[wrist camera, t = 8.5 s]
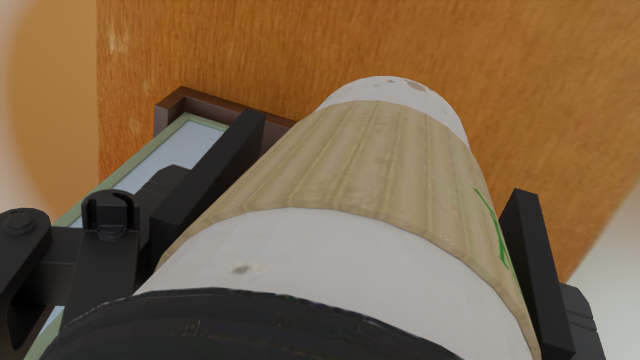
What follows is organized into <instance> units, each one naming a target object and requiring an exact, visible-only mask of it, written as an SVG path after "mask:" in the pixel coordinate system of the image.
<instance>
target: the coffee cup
mask: <svg viewBox="0 0 640 360" xmlns="http://www.w3.org/2000/svg"><path fill="white" fill-rule="evenodd" d="M39 360H541V351H540V347H539V344H538V341H537V338H536V335H535V332H534V329H533V326H532V323H531V320H530V317H529V314H528V310H527V307H526V304H525V301H524V298H523V295H522V292H521V289H520V286H519V283H518V280H517V277H516V274H515V271H514V268H513V265H512V261H511V258H510V255H509V252H508V249H507V246H506V243H505V240H504V237H503V234H502V231H501V228H500V225H499V222H498V219H497V216H496V212H495V209H494V206H493V203H492V200H491V197H490V194H489V191H488V188H487V185H486V182H485V179H484V177H483V174H482V172H481V169H480V167H479V164H478V162H477V160H476V159H475V157H474V156H473V154H472V153H471V150H470V147H469V144H468V140H467V137H466V133H465V131H464V128H463V126H462V123H461V121H460V119H459V117H458V116H457V114H456V113H455V111H454V110H453V108H452V107H451V106H450V105H449V104H448V103H447V102H446V101H445V100H444V99H443V98H442V97H441V96H440V95H439V94H437V93H436V92H434V91H433V90H431V89H429V88H428V87H426V86H425V85H422V84H419V83H417V82H414V81H412V80H409V79H405V78H399V77H394V76H373V77H368V78H363V79H359V80H356V81H354V82H351V83H349V84H346V85H344V86H343V87H341V88H340V89H338V90H337V91H335V92H334V93H332V94H331V95H330V96H329V97H328V98H327V99H326V100H325V101H324V102H323V103H322V104H321V105H320V106H319V107H318V108H317V109H316V110H315V111H314V112H313V113H311V114H310V115H308V116H307V117H305V118H304V119H302V120H301V121H299V122H298V123H296V124H295V125H294V126H293V127H292V128H291V129H290V130H289V131H288V132H287V133H286V134H285V135H284V136H283V137H282V138H281V139H279V140H278V141H277V142H276V143H275V144H274V145H273V146H272V147H271V148H270V149H269V150H268V151H267V152H266V153H265V154H264V155H263V156H262V157H261V158H260V159H259V160H258V161H257V162H256V163H255V164H254V165H253V166H252V167H250V168H249V169H248V170H247V171H246V172H245V173H244V174H243V175H242V176H241V177H240V178H239V179H238V180H237V181H236V182H235V183H234V184H233V185H232V186H231V187H230V188H229V189H228V190H227V191H226V192H225V193H224V194H222V195H221V196H220V197H219V198H218V199H217V200H216V201H215V202H214V203H213V204H212V205H211V206H210V207H209V208H208V209H207V210H206V211H205V212H204V213H203V214H202V215H201V216H200V217H199V218H198V219H197V220H196V221H195V222H193V223H192V224H191V225H190V226H189V227H188V228H187V229H186V230H185V231H184V232H183V233H182V234H181V235H180V236H179V237H178V238H177V240H176V241H175V242H174V243H173V244H172V245H171V246H170V247H169V248H168V249H167V250H166V251H165V252H164V253H163V255H162V257H161V259H160V261H159V263H158V265H157V267H156V269H155V271H154V273H153V275H152V276H151V277H150V278H149V279H148V280H147V281H146V282H145V283H144V284H143V285H142V286H141V287H140V288H139V289H138V290H137V291H136V292H135V293H134V294H133V295H132V296H129V297H125V298H122V299H118V300H114V301H110V302H107V303H103V304H101V305H99V306H97V307H96V308H94V309H92V310H90V311H89V312H87V313H85V314H84V315H82V316H80V317H78V318H77V319H75V320H73V321H71V322H70V323H68V324H66V326H65V327H64V328H63V329H62V330H61V331H60V333H59V334H58V335H57V336H56V337H55V338H54V340H53V341H52V342H51V343H50V344H49V345H48V347H47V348H46V349H45V350H44V353H43V354H42V355H41V357H40V359H39Z"/></svg>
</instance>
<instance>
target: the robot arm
mask: <svg viewBox="0 0 640 360" xmlns="http://www.w3.org/2000/svg"><path fill="white" fill-rule="evenodd" d="M265 120H266V114H263V113H260V112H257V111H253V110H250V109H245V110H244V111H243V112H242V113H241V114H240V115H239V116H238V117H237V119H236V120H235V121H234V122H233V123H232V124H231V125H230V126H229V128H228V129H227V130H226V131H225V132H224V133H223V134H222V135H221V137H220V138H219V139H218V140H217V141H216V142H215V143H214V144H213V146H212V147H211V148H210V149H209V150H208V151H207V152H206V153H205V154H204V156H203V157H202V158H201V159H200V160H199V161H198V162H197V163H196V165H195V166H194V167H193V168H192V169H187V168H184V167H181V166H178V165H175V164H172V165H169V166H167V167H165V168H163V169H160V170H158V171H157V172H156V173H155V174H154V175H153V176H152V177H151V178H150V179H149V181H148V182H146V183H145V184H144V185H143V186H142V187H141V190H140V189H139V190H138V191H137V192H136V193H135V194H134V195H133V194H132V193H129V192H127V191H125V190H119V189H105V190H100V191H97V192H94V193H91V194H90V195H88V196H87V197H85V198H84V200H83V202H82V203H81V214H82V226H83V228H74V227H60V226H51V222H50V219H49V216H48V215H46V213H44V212H43V211H40V210H37V209H34V208H18V209H12V210H8V211H6V212H3V213H1V214H0V360H24V358H25V356H26V355H27V353H28V351H29V350H30V348H31V346H32V345H33V343H34V341H35V340H36V338H37V336H38V335H39V333H40V331H41V330H42V328H43V326H44V325H45V323H46V321H47V320H48V318H49V316H50V315H51V313H52V311H53V310H54V308H55V306H65V307H64V311H63V316H62V320H61V324H60V328H59V332H58V334H59V333H60V331H61V330H62V329H63V328H64V327H65V326H66V324H68V323H70V322H71V321H73V320H75V319H77V318H78V317H80V316H82V315H84V314H85V313H87V312H89V311H90V310H92V309H94V308H96V307H97V306H99V305H101V304H103V303H107V302H110V301H114V300H118V299H122V298H125V297H129V296H132V295H133V294H134V293H135V292H136V291H137V290H138V289H139V288H140V287H141V286H142V285H143V284H144V283H145V282H146V281H147V280H148V279H149V278H150V277H151V276H152V275H153V273H154V271H155V269H156V267H157V265H158V263H159V261H160V259H161V257H162V255H163V253H164V252H165V251H166V250H167V249H168V248H169V247H170V246H171V245H172V244H173V243H174V242H175V241H176V240H177V238H178V237H179V236H180V235H181V234H182V233H183V232H184V231H185V230H186V229H187V228H188V227H189V226H190V225H191V224H192V223H193V222H195V221H196V220H197V219H198V218H199V217H200V216H201V215H202V214H203V213H204V212H205V211H206V210H207V209H208V208H209V207H210V206H211V205H212V204H213V203H214V202H215V201H216V200H217V199H218V198H219V197H220V196H221V195H222V194H224V193H225V192H226V191H227V190H228V189H229V188H230V187H231V186H232V185H233V184H234V183H235V182H236V181H237V180H238V179H239V178H240V177H241V176H242V175H243V174H244V173H245V172H246V171H247V170H248V169H249V168H250V167H252V166H253V165H254V164H255V163H256V162H257V161H258V160H259V158H260V152H261V145H262V139H263V133H264V126H265ZM498 222H499V225H500V228H501V231H502V234H503V237H504V240H505V243H506V246H507V249H508V252H509V255H510V258H511V261H512V265H513V268H514V271H515V274H516V277H517V280H518V283H519V286H520V289H521V292H522V295H523V298H524V301H525V304H526V307H527V310H528V314H529V317H530V320H531V323H532V326H533V329H534V332H535V335H536V338H537V341H538V344H539V347H540V351H541V360H606V358H605V355H604V352H603V348H602V345H601V342H600V338H599V335H598V333H597V332H596V331H597V328H596V325H595V322H594V320H593V315H592V312H591V309H590V306H589V303H588V302H587V300H586V299H585V297H584V296H583V294H582V293H581V292H580V290H579V289H578V288H576V287H573V286H570V285H566V284H563V283H560V282H559V280H558V276H557V272H556V268H555V264H554V260H553V256H552V252H551V248H550V244H549V239H548V235H547V231H546V227H545V223H544V219H543V215H542V211H541V207H540V203H539V199H538V195H537V194H534V193H531V192H527V191H524V190H520V189H517V188H515V189H514V191H513V192H512V194H511V196H510V198H509V200H508V202H507V204H506V206H505V208H504V210H503V212H502V214H501V216H500V218H499V220H498Z"/></svg>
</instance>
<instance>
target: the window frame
mask: <svg viewBox="0 0 640 360" xmlns="http://www.w3.org/2000/svg"><path fill="white" fill-rule="evenodd" d="M245 109H250V110H253V111H257V112H260V113H263V114H266V120H265V126H264V133H263V139H262V145H261V152H260V158H261V157H262V156H263V155H264V154H265V153H266V152H267V151H268V150H269V149H270V148H271V147H272V146H273V145H274V144H275V143H276V142H277V141H278V140H279V139H281V138H282V137H283V136H284V135H285V134H286V133H287V132H288V131H289V130H290V129H291V128H292V127H293V126H294V125H295V124H296V123H298V122H295V121H292V120H288V119H285V118H282V117H279V116H275V115H272V114H269V113H266V112H263V111H259V110H256V109H253V108H250V107H246V106H243V105H240V104H237V103H234V102H230V101H227V100H224V99H221V98H217V97H214V96H211V95H208V94H205V93H201V92H198V91H195V90H192V89H188V88H185V87H182V86H180V87H179V88H178V89H176V90H175V91H174V92H173V93H171V94H170V95H168V96H167V97H166V98H164V99H163V100H162V101H160V102H159V103H158V104H156V105H155V114H154V138H155V137H156V136H157V135H158V134H160V133H161V132H162V131H163V130H164V129H165V128H167V127H168V126H169V125H170V124H171V123H173V122H174V121H175V120H176V119H177V118H179V117H180V116H181V115H182V114H183V113H184V112H187V113H190V114H193V115H196V116H199V117H202V118H206V119H209V120H212V121H215V122H218V123H221V124H225V125H228V126H230V125H231V124H232V123H233V122H234V121H235V120H236V119H237V117H238V116H239V115H240V114H241V113H242V112H243V111H244V110H245ZM260 158H259V159H260Z"/></svg>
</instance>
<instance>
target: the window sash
mask: <svg viewBox="0 0 640 360" xmlns="http://www.w3.org/2000/svg"><path fill="white" fill-rule="evenodd" d="M228 128H229V126H228V125H225V124H221V123H218V122H215V121H212V120H209V119H206V118H202V117H199V116H196V115H193V114H190V113H187V112H184V113H183V114H182V115H181V116H180V117H179V118H177V119H176V120H175V121H174V122H173V123H171V124H170V125H169V126H168V127H167V128H165V129H164V130H163V131H162V132H161V133H160V134H158V135H157V136H156V137H155V138H154V139H152V140H151V141H150V142H149V143H148V144H147V145H145V146H144V147H143V148H142V149H141V150H139V151H138V152H137V153H136V154H135V155H133V156H132V157H131V158H130V159H129V160H128V161H126V162H125V163H124V164H123V165H122V166H120V167H119V168H118V169H117V170H116V171H115V172H113V173H112V174H111V175H110V176H109V177H107V178H106V179H105V180H104V181H103V182H102V183H100V184H99V185H98V186H97V187H96V188H94V189H93V190H92V191H91V192H90V193H88V194H87V195H86V196H85V197H87V196H88V195H90V194H91V193H94V192H97V191H100V190H105V189H119V190H125V191H127V192H129V193H132V194H133V195H134V194H135V193H136V192H137V191H138V190H139V189H140V190H141V187H142V186H143V185H144V184H145V183H146V182H148V181H149V179H150V178H151V177H152V176H153V175H154V174H155V173H156V172H157V171H158V170H160V169H163V168H165V167H167V166H169V165H172V164H175V165H178V166H181V167H184V168H187V169H192V168H193V167H194V166H195V165H196V163H197V162H198V161H199V160H200V159H201V158H202V157H203V156H204V154H205V153H206V152H207V151H208V150H209V149H210V148H211V147H212V146H213V144H214V143H215V142H216V141H217V140H218V139H219V138H220V137H221V135H222V134H223V133H224V132H225V131H226V130H227V129H228ZM85 197H84V198H85ZM84 198H83V199H81V200H80V201H79V202H78V203H77V204H76V205H74V206H73V207H72V208H71V209H70V210H69V211H67V212H66V213H65V214H64V215H62V216H61V217H60V218H59V219H58V220H56V221H55V222H54V223H53V224H52V225H51V226H60V227H74V228H83V226H82V214H81V203H82V202H83V200H84ZM64 307H65V306H55V308H54V310H53V311H52V313H51V315H50V316H49V318H48V320H47V321H46V323H45V325H44V326H43V328H42V330H41V331H40V333H39V335H38V336H37V338H36V340H35V341H34V343H33V345H32V346H31V348H30V350H29V351H28V353H27V355H26V356H25V358H24V360H39V359H40V357H41V355H42V354H43V353H44V350H45V349H46V348H47V347H48V345H49V344H50V343H51V342H52V341H53V340H54V338H55V337H56V336H57V335H58V332H59V328H60V324H61V320H62V316H63V311H64Z"/></svg>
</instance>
